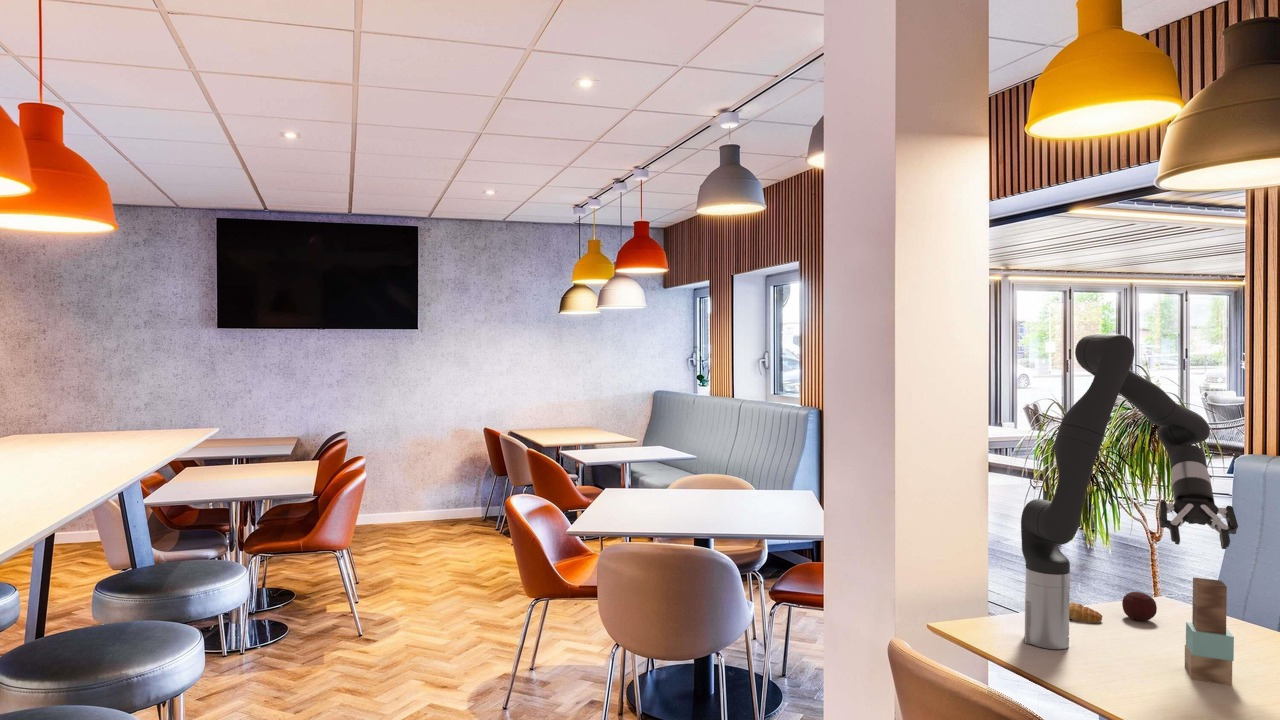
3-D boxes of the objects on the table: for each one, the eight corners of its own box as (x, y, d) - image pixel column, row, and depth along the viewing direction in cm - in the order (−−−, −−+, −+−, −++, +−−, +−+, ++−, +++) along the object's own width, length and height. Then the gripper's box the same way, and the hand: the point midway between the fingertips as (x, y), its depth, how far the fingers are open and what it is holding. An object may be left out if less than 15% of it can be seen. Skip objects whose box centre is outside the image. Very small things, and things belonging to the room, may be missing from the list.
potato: (1132, 613, 206) (1132, 586, 206) (1163, 622, 199) (1163, 594, 199) (1115, 617, 203) (1115, 590, 203) (1145, 626, 196) (1146, 598, 196)
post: (1196, 630, 164) (1197, 583, 164) (1192, 623, 168) (1192, 577, 168) (1226, 634, 162) (1226, 586, 162) (1220, 627, 166) (1221, 580, 166)
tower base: (1190, 679, 164) (1191, 655, 164) (1184, 667, 170) (1184, 644, 170) (1232, 685, 161) (1232, 661, 161) (1224, 673, 167) (1224, 650, 167)
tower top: (1192, 655, 164) (1192, 631, 164) (1185, 644, 170) (1186, 621, 170) (1233, 661, 161) (1233, 636, 161) (1225, 649, 167) (1225, 626, 167)
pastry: (1104, 620, 201) (1104, 605, 201) (1099, 627, 196) (1099, 612, 196) (1063, 612, 207) (1063, 597, 207) (1057, 618, 202) (1058, 604, 202)
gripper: (1157, 473, 184) (1164, 531, 173) (1232, 478, 177) (1244, 539, 167) (1153, 492, 188) (1160, 550, 178) (1226, 497, 182) (1237, 558, 172)
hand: (1201, 544), depth 173 cm, fingers open, 8 cm apart
